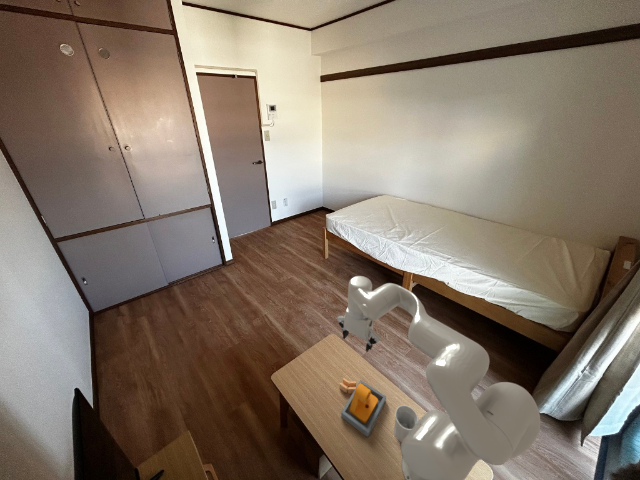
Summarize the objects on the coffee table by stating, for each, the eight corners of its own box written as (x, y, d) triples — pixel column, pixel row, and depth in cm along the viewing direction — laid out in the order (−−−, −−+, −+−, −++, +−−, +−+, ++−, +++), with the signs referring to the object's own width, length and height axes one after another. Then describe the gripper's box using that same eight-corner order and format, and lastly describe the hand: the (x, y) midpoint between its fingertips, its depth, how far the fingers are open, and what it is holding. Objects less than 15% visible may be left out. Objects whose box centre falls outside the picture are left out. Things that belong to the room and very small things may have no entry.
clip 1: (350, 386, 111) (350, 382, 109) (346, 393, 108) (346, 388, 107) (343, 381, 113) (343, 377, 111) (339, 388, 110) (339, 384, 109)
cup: (388, 435, 94) (391, 419, 88) (396, 416, 100) (400, 400, 94) (409, 451, 90) (414, 435, 84) (416, 430, 95) (421, 414, 89)
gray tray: (385, 401, 105) (386, 396, 103) (368, 437, 94) (368, 433, 92) (360, 384, 111) (360, 380, 109) (341, 416, 100) (341, 412, 98)
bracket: (365, 425, 96) (367, 409, 90) (349, 413, 100) (350, 396, 94) (378, 402, 103) (380, 386, 97) (363, 391, 107) (364, 375, 101)
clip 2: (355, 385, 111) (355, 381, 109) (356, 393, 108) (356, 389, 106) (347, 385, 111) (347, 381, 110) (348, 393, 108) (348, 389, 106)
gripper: (387, 313, 82) (382, 346, 91) (343, 293, 92) (342, 325, 100) (377, 328, 77) (373, 362, 86) (331, 305, 86) (332, 338, 95)
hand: (356, 342), depth 93 cm, fingers open, 9 cm apart
